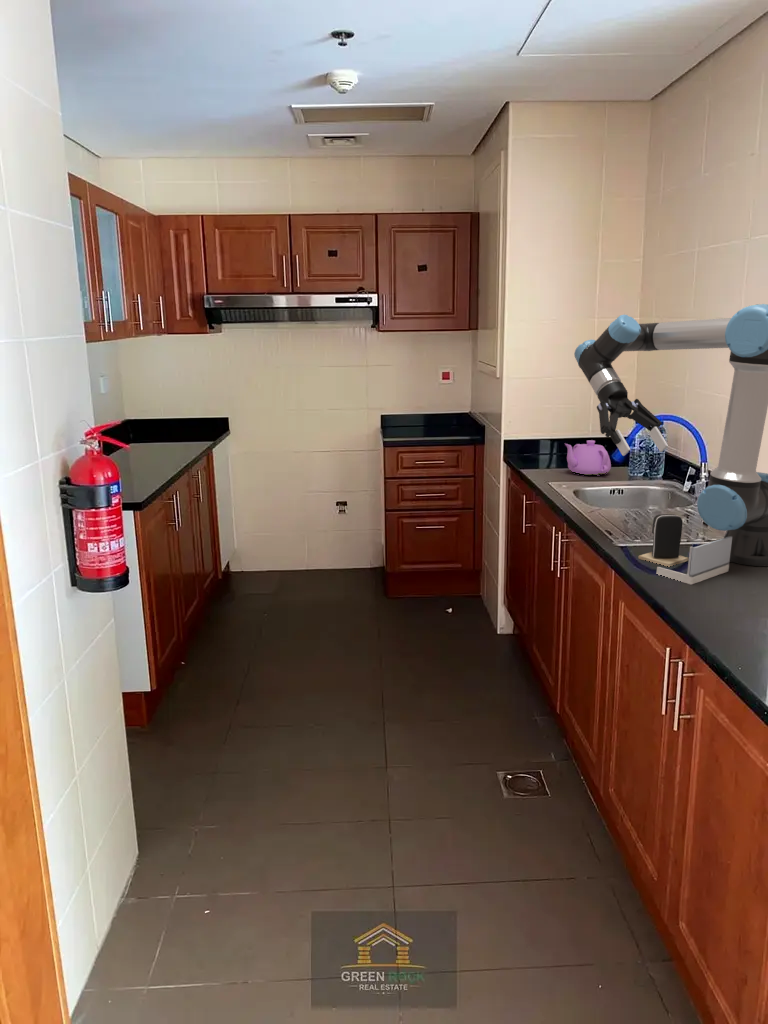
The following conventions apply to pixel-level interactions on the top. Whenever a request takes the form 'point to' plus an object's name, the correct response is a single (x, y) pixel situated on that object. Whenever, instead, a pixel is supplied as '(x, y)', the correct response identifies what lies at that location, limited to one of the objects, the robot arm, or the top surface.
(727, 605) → the top surface
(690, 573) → the legged metal plate
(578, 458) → the teapot
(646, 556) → the oak pad
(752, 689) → the top surface
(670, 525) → the battery charger
